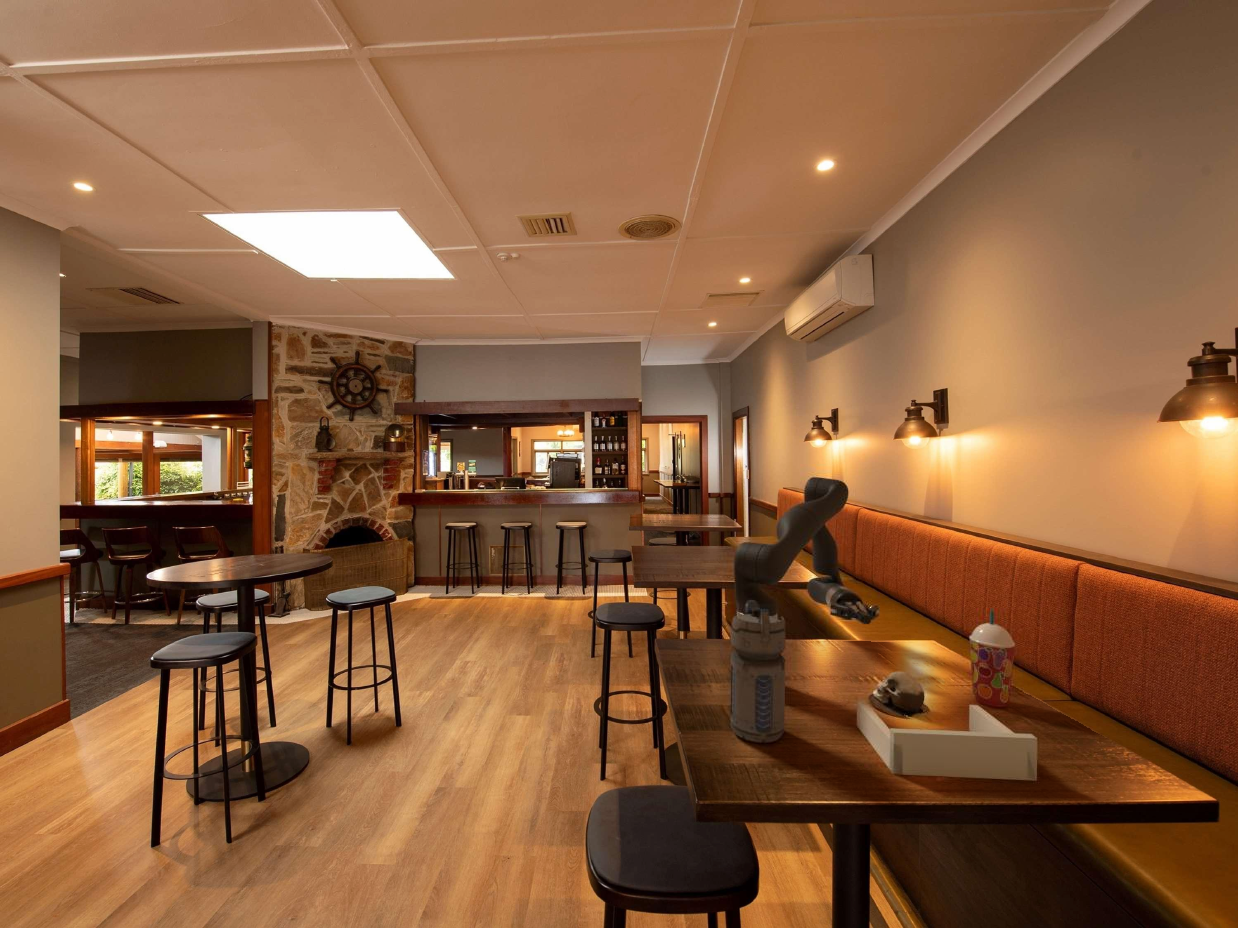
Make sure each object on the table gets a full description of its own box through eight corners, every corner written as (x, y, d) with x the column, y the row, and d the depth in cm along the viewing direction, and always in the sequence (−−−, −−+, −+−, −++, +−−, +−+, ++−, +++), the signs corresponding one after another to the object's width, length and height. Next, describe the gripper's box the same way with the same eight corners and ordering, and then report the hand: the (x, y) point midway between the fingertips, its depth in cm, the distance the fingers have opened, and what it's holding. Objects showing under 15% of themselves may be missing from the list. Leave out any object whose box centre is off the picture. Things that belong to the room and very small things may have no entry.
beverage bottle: (772, 715, 117) (773, 594, 116) (792, 748, 103) (794, 611, 103) (723, 715, 117) (724, 594, 116) (737, 747, 103) (738, 611, 103)
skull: (852, 696, 124) (873, 657, 127) (877, 722, 127) (897, 682, 131) (901, 717, 113) (923, 673, 117) (927, 744, 117) (947, 700, 120)
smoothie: (1000, 695, 128) (1001, 607, 128) (1022, 711, 120) (1024, 617, 120) (961, 693, 129) (962, 605, 129) (981, 709, 120) (982, 615, 120)
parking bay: (893, 773, 95) (893, 732, 95) (856, 725, 113) (857, 690, 113) (1036, 780, 94) (1037, 738, 93) (977, 730, 111) (977, 694, 111)
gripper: (819, 588, 156) (839, 604, 139) (868, 588, 156) (894, 605, 138) (819, 615, 157) (839, 634, 139) (868, 616, 156) (894, 635, 138)
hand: (867, 620), depth 139 cm, fingers closed
